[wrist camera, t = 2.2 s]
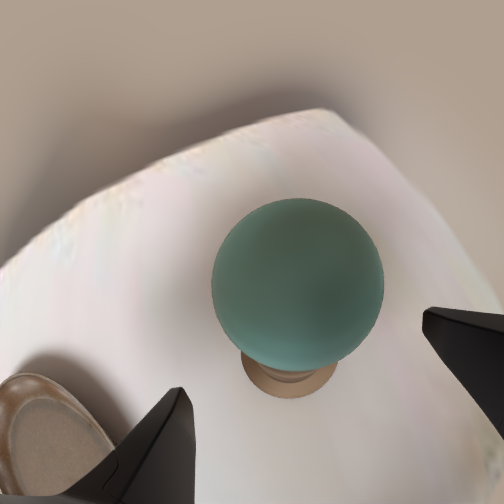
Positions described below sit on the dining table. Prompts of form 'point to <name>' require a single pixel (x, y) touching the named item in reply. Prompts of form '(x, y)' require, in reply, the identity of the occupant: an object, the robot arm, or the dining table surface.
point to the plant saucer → (45, 437)
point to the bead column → (296, 292)
